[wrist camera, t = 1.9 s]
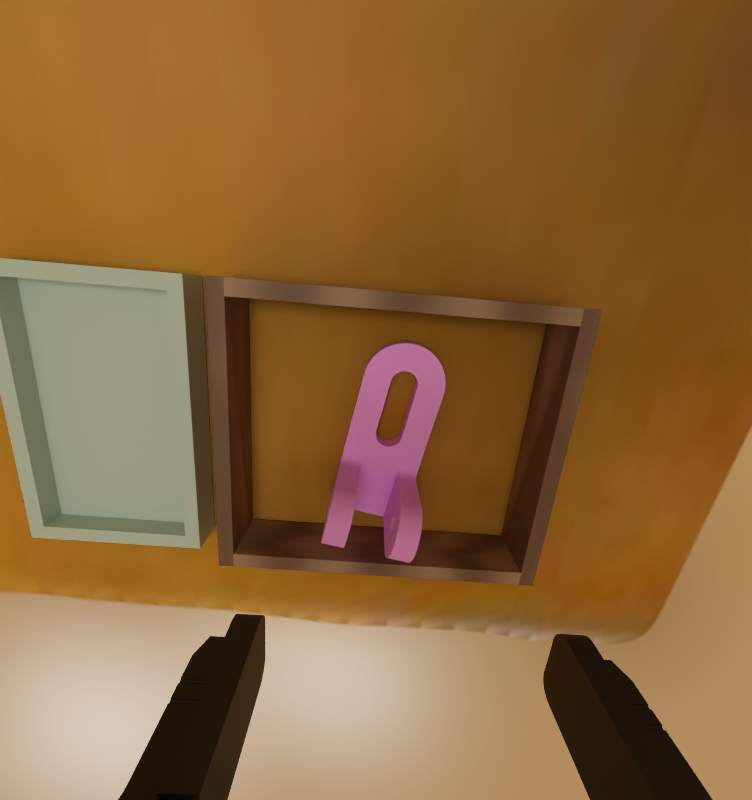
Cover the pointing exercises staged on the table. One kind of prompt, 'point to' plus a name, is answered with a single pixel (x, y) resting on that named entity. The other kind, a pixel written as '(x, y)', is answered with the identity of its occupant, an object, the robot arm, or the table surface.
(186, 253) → the table surface
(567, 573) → the table surface
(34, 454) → the tray
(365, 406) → the bracket
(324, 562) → the crate
